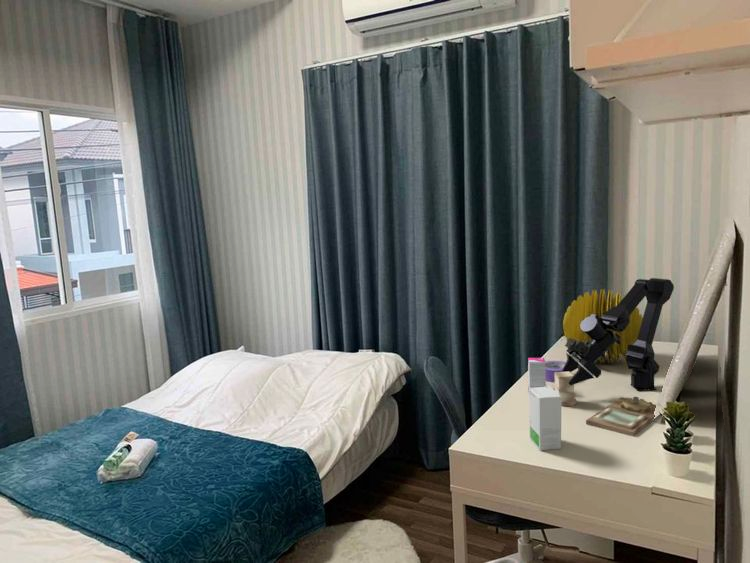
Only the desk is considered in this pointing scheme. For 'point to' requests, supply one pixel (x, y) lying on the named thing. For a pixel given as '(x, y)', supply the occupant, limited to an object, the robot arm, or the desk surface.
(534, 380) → the supplement box
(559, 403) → the skincare box
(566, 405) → the marble stone block
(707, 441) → the desk surface
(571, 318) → the lamp
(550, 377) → the tape roll
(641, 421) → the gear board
